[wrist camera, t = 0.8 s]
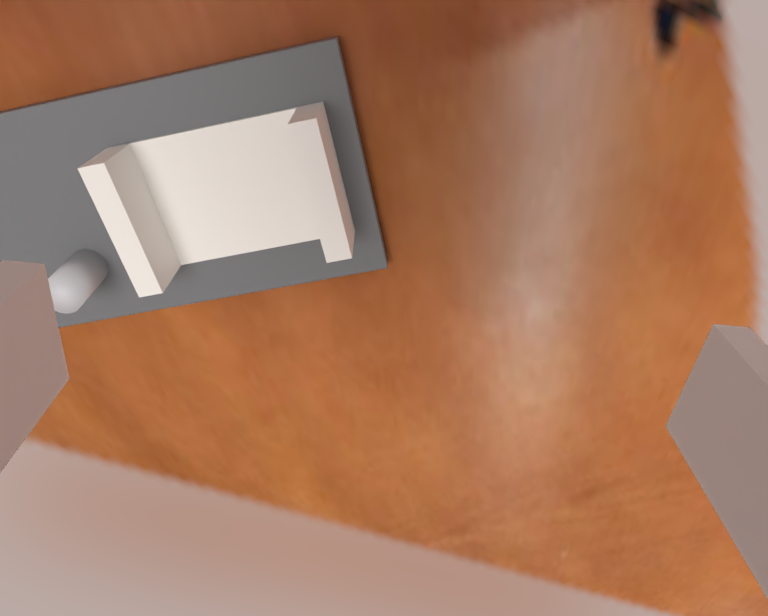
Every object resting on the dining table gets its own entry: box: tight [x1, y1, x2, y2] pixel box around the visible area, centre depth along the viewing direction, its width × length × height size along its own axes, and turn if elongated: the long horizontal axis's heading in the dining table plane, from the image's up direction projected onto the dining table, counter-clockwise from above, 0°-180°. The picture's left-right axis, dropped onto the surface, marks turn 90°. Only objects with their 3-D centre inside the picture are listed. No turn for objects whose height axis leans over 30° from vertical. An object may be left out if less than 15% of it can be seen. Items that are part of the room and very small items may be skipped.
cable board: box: [0, 36, 388, 328], centre depth 36 cm, size 14×32×5 cm, turn 101°
